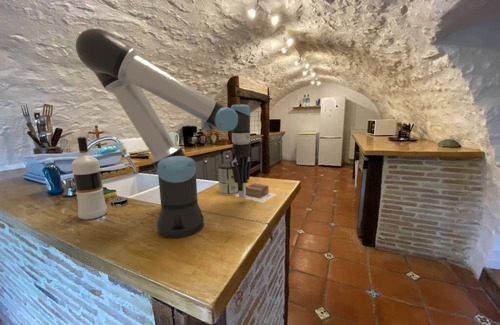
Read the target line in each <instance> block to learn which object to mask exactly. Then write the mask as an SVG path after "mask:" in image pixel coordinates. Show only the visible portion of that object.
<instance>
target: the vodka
mask: <svg viewBox="0 0 500 325" xmlns="http://www.w3.org/2000/svg"><path fill="white" fill-rule="evenodd" d="M76 139H77V144H78V151H79V156H77V157H76V158H75V159H73V160H72V162H71V165H70V167H71V170H72V175H73V180H74V186H75V187H74V188H75V191H76V192H75V195H76V199H77V207H78V208H77V217H78V218H79V219H80V220H87V221H89V220H94V219H98V218H101V217H103V216H105V215H106V214H107V212H108V210H109V209H108V206H107V203H106V199H105V196H104V188H103V182H102V176H101V167H100V166H101V164H100V161H99V159H98V158H96V157H94V156H92V155H90V153H89V148H88V142H87V137H84V136H81V137H76Z"/></svg>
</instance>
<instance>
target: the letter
mask: <svg viewBox="0 0 500 325" xmlns="http://www.w3.org/2000/svg"><path fill="white" fill-rule="evenodd" d="M277 195H278V194H277V193H273V192H268V194H267V195H265V196H263V197H261V198H255V197H251V196H247V195H246V198H244V199H245V200H246V199H247V200H249V201H255V202H258V203H265V202H267V201H268V200H270V199H272V198H273V197H276V196H277ZM234 197H237V198H240V197H239V193H237V194H234Z"/></svg>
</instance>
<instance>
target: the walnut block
mask: <svg viewBox="0 0 500 325" xmlns="http://www.w3.org/2000/svg"><path fill="white" fill-rule="evenodd" d="M268 193H269V185H267V184H261V183H255V182H254V183H252V184H249V185H246V195H247V196H251V197H255V198H261V197H263V196H265V195H267V194H268Z"/></svg>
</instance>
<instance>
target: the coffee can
mask: <svg viewBox="0 0 500 325" xmlns="http://www.w3.org/2000/svg"><path fill="white" fill-rule="evenodd" d="M217 167H218V186H219V187H218V189H219V194H220V195H223V196H224V195H225V196H233V195H234V196H235V195H237V194H239V190H238V183H235V181H234V176H233V171H232V167H231V165H230V162H223V163H220V164H218V165H217Z"/></svg>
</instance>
